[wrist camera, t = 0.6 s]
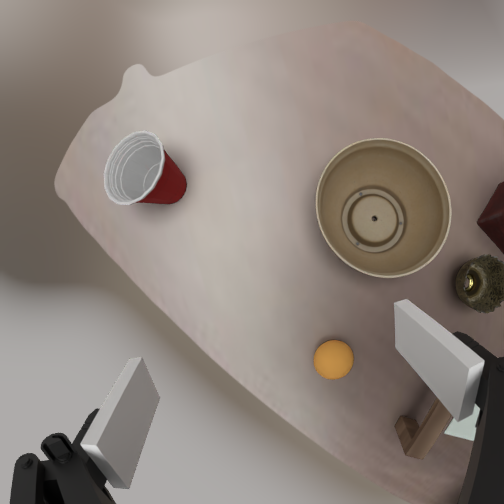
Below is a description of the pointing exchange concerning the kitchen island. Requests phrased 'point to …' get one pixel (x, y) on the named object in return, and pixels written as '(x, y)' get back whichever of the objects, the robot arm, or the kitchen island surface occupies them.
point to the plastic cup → (142, 172)
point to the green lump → (482, 283)
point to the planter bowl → (383, 208)
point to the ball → (333, 359)
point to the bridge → (422, 430)
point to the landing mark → (464, 426)
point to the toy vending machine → (494, 218)
